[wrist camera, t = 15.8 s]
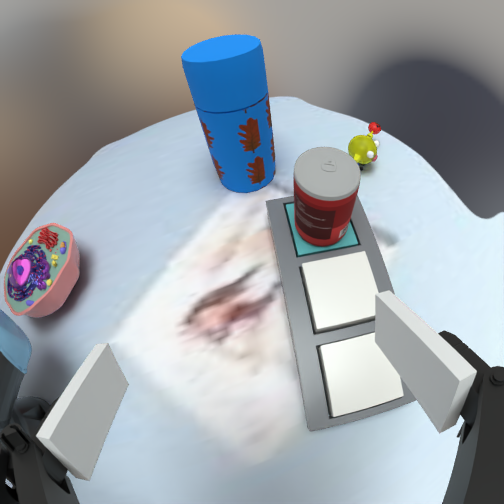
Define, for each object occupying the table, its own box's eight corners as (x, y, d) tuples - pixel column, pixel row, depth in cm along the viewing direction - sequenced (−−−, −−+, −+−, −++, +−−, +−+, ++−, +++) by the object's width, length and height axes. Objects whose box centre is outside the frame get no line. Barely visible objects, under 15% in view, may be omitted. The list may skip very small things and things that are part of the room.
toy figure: (355, 203, 45) (362, 176, 39) (326, 190, 47) (330, 162, 41) (386, 146, 51) (392, 121, 45) (362, 136, 53) (366, 110, 47)
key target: (298, 266, 41) (298, 255, 38) (286, 218, 45) (285, 204, 42) (353, 255, 40) (358, 243, 37) (337, 209, 44) (339, 195, 41)
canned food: (342, 200, 41) (352, 145, 31) (352, 246, 37) (369, 195, 27) (291, 203, 42) (289, 147, 32) (296, 250, 38) (297, 199, 28)
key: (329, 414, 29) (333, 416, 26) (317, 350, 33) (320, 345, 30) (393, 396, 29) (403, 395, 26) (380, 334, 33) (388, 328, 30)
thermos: (279, 152, 53) (267, 32, 31) (272, 195, 48) (255, 58, 26) (225, 151, 55) (194, 39, 33) (212, 192, 50) (167, 68, 28)
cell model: (104, 303, 42) (62, 276, 32) (32, 339, 40) (-10, 321, 31) (94, 228, 50) (62, 194, 40) (29, 268, 48) (-4, 244, 39)
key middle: (314, 335, 34) (316, 329, 31) (301, 274, 38) (302, 263, 35) (376, 320, 34) (384, 312, 31) (359, 262, 38) (364, 250, 35)
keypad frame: (307, 427, 30) (309, 431, 27) (267, 216, 46) (265, 200, 42) (408, 398, 30) (420, 398, 26) (349, 202, 45) (353, 186, 42)
